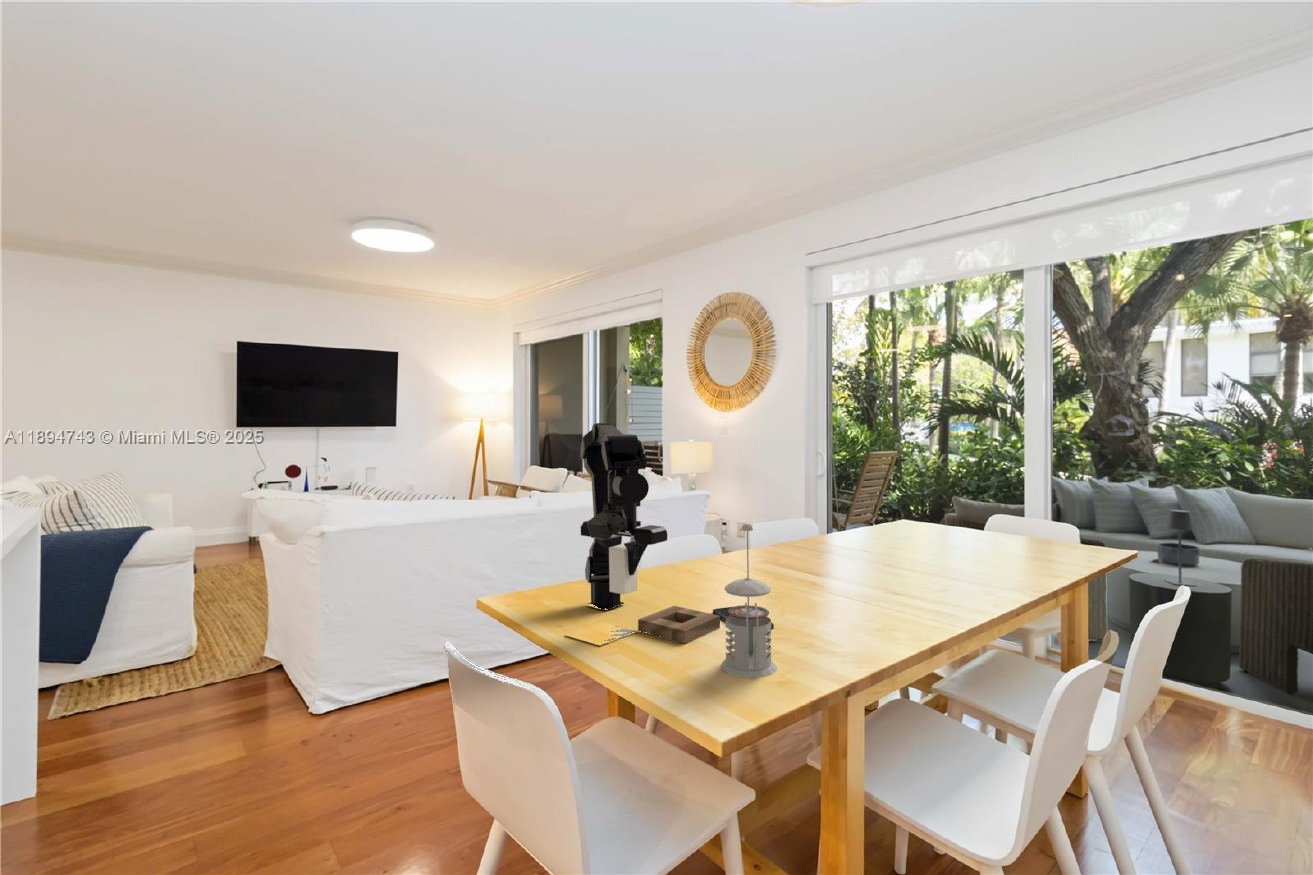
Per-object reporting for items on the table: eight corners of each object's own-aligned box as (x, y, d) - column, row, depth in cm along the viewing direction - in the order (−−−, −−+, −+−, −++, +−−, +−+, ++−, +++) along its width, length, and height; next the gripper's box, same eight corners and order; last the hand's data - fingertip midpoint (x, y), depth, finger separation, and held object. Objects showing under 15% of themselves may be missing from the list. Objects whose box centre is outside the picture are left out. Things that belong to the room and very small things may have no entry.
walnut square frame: (638, 631, 129) (638, 619, 129) (674, 617, 139) (673, 605, 139) (685, 643, 122) (685, 630, 122) (719, 627, 131) (719, 615, 131)
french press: (773, 656, 115) (771, 519, 114) (783, 682, 103) (782, 529, 103) (718, 656, 115) (717, 519, 115) (723, 682, 104) (721, 530, 103)
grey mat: (564, 636, 127) (564, 634, 127) (599, 623, 135) (599, 621, 135) (600, 646, 121) (600, 644, 121) (635, 632, 129) (635, 630, 129)
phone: (742, 605, 144) (775, 624, 130) (742, 610, 144) (775, 630, 130) (710, 609, 142) (741, 629, 127) (710, 614, 142) (741, 635, 127)
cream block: (609, 591, 128) (608, 547, 128) (622, 587, 131) (621, 544, 131) (624, 594, 126) (624, 549, 125) (637, 590, 129) (636, 546, 129)
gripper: (560, 498, 127) (562, 575, 128) (632, 504, 116) (633, 589, 116) (598, 492, 136) (599, 564, 136) (668, 498, 125) (669, 577, 125)
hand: (623, 573), depth 128 cm, fingers closed on cream block, 4 cm apart
